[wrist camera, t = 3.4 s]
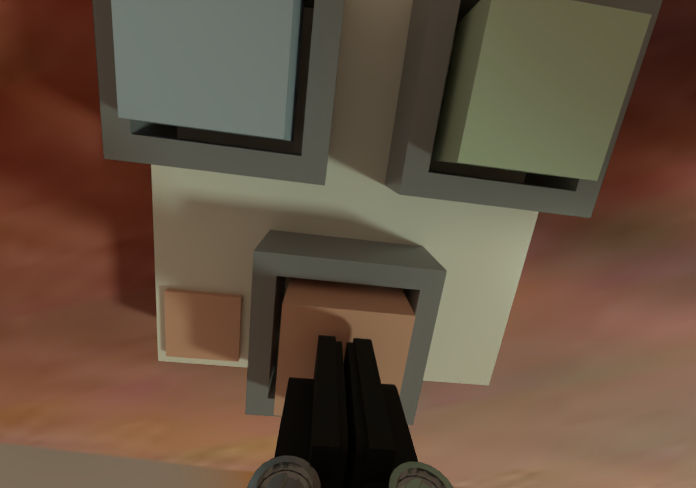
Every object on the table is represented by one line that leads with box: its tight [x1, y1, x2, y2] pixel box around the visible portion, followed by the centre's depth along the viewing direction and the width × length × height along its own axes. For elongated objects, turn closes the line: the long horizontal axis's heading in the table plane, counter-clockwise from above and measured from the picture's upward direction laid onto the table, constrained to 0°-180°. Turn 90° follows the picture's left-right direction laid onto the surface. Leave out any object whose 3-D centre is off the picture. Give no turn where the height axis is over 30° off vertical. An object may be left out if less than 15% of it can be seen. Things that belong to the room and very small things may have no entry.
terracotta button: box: [274, 277, 416, 416], centre depth 12 cm, size 4×4×2 cm
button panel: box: [92, 0, 663, 425], centre depth 13 cm, size 16×16×6 cm
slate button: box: [111, 0, 305, 142], centre depth 9 cm, size 4×4×2 cm
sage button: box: [432, 0, 651, 181], centre depth 10 cm, size 4×4×2 cm
